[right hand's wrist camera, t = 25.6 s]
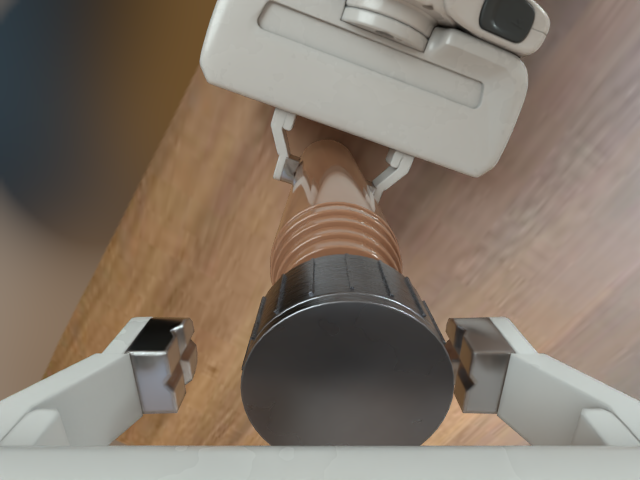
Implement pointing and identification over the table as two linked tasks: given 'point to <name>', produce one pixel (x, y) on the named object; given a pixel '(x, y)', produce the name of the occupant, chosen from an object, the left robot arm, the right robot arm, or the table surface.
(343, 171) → the bottle
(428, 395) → the cap
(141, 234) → the table surface
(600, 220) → the table surface
